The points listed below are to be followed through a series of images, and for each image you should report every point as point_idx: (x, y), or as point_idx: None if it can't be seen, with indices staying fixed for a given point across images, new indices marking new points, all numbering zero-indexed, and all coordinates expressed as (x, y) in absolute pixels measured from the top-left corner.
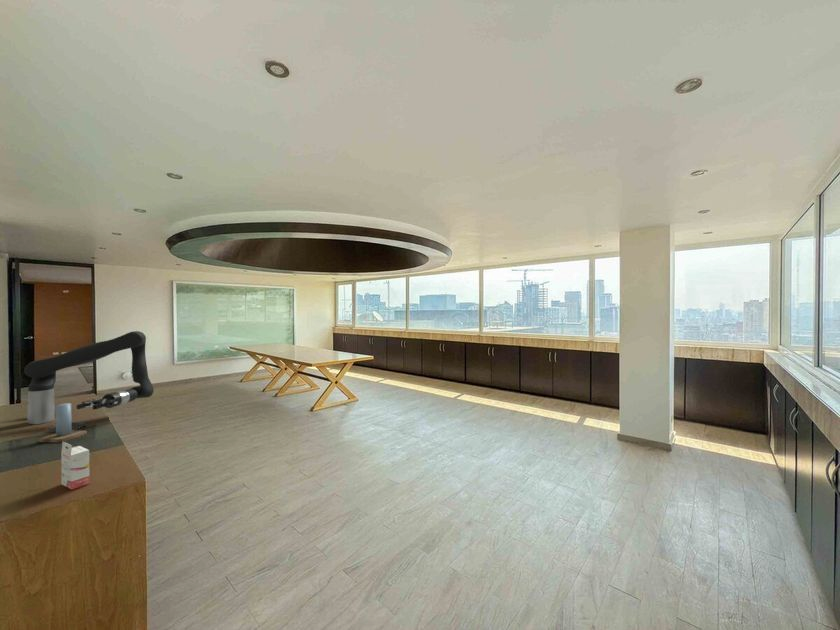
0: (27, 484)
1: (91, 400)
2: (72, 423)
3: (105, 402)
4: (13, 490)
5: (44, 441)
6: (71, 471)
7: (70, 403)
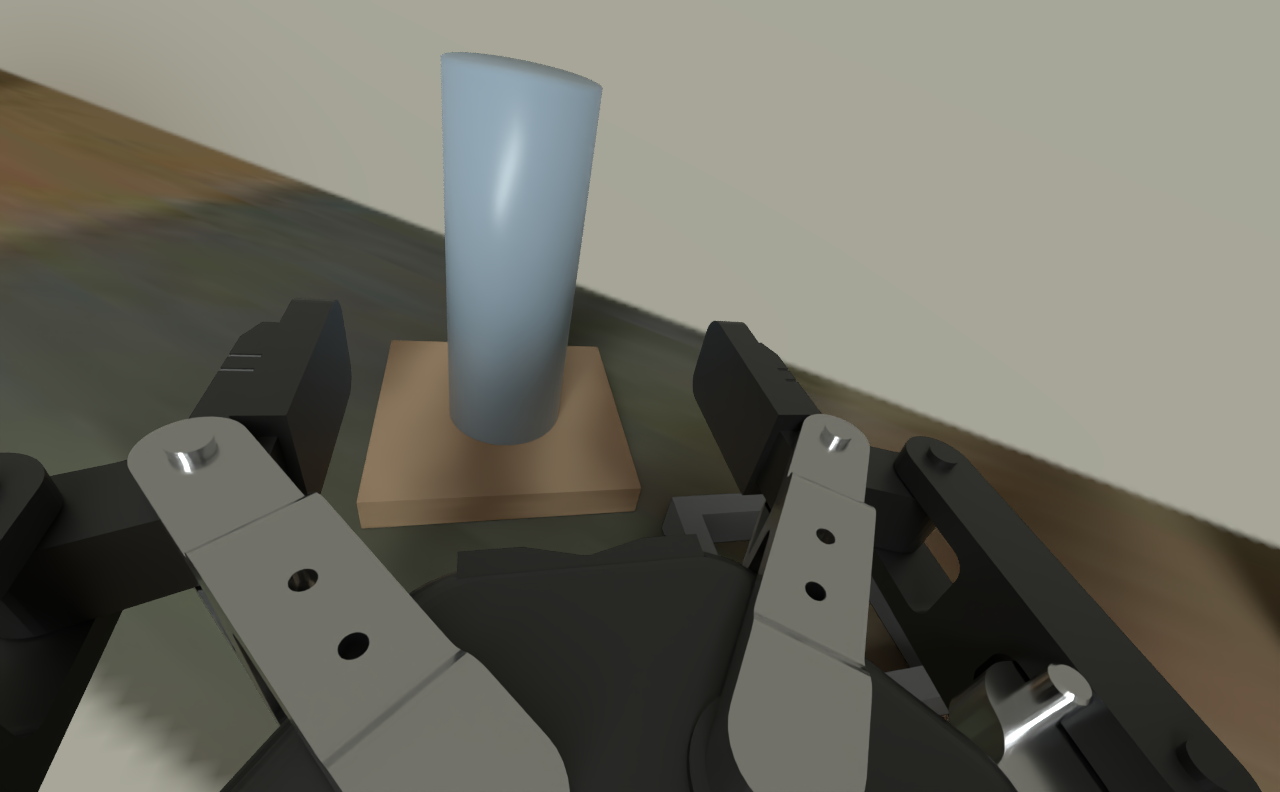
0: (77, 123)
1: (849, 503)
2: (892, 675)
3: (211, 603)
4: (99, 112)
5: None
6: None
7: (488, 76)
